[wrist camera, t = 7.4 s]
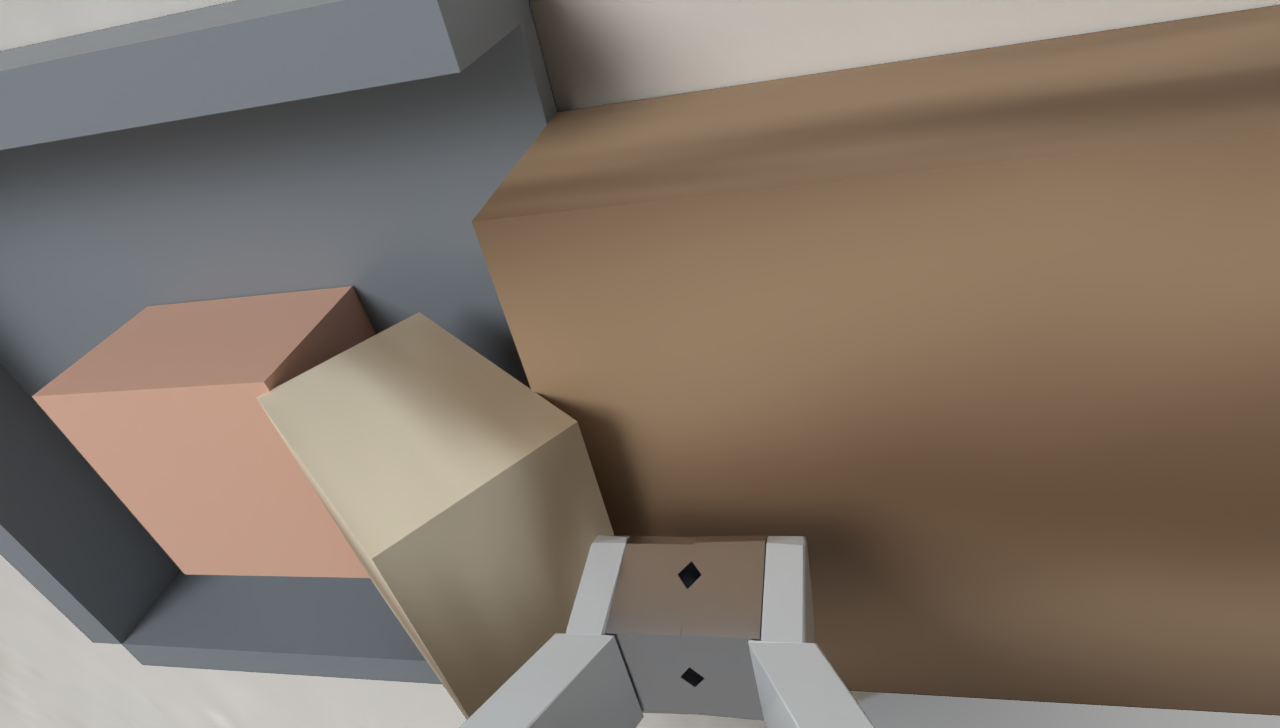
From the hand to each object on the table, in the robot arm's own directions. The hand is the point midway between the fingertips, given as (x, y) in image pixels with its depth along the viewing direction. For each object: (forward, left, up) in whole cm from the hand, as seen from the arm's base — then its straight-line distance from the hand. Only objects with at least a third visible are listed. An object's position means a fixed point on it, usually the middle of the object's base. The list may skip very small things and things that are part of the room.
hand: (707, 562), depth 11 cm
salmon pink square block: (0, -9, -1) cm, 10 cm away
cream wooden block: (0, -3, -2) cm, 4 cm away
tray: (0, -10, -5) cm, 11 cm away
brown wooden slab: (0, +4, -5) cm, 6 cm away
